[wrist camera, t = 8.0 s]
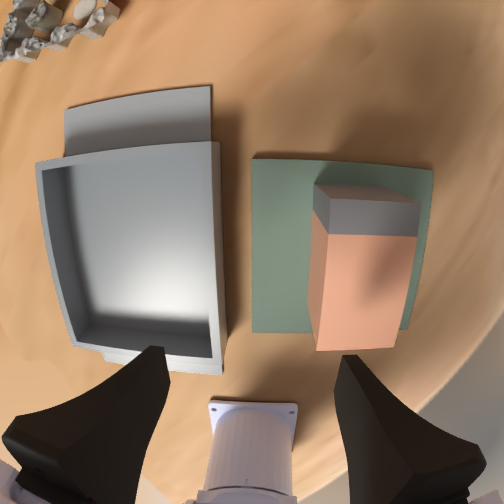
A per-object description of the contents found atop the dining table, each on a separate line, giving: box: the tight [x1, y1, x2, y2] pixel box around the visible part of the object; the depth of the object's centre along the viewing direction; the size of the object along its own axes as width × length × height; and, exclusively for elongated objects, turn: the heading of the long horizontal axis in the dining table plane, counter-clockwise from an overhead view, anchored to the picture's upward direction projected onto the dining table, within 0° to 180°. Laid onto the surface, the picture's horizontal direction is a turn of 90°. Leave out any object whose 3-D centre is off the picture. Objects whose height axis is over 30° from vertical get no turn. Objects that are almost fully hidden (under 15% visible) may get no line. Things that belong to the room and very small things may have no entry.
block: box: [307, 183, 421, 351], centre depth 17 cm, size 8×4×6 cm, turn 0°
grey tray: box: [35, 86, 228, 375], centre depth 19 cm, size 21×12×3 cm, turn 0°
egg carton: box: [0, 0, 120, 63], centre depth 13 cm, size 11×8×4 cm
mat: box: [251, 159, 434, 333], centre depth 20 cm, size 12×12×1 cm
